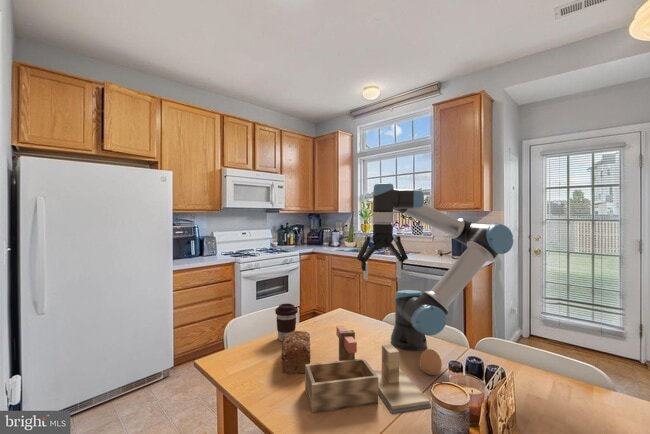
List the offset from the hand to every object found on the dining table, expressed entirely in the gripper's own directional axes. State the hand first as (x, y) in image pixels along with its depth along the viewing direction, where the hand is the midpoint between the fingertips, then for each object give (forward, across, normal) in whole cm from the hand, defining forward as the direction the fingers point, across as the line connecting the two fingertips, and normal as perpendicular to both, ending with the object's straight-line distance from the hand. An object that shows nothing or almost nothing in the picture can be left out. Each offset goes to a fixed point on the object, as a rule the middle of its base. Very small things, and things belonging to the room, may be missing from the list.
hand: (382, 278), depth 117 cm
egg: (+32, -13, +13) cm, 37 cm away
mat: (+32, +4, +19) cm, 37 cm away
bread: (+32, +32, -6) cm, 46 cm away
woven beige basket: (+32, +22, +14) cm, 41 cm away
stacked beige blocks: (+31, +4, +19) cm, 37 cm away
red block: (+22, +15, +3) cm, 27 cm away
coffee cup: (+32, +34, -28) cm, 54 cm away
